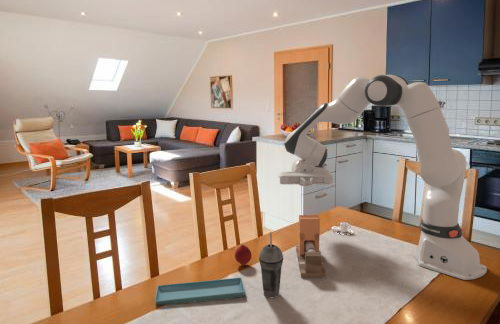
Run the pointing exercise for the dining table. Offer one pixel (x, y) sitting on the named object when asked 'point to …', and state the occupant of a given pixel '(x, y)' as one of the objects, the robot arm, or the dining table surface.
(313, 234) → the orange angular piece
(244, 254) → the onion
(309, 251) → the pipe rig
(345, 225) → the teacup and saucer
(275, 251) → the beverage cup
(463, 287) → the dining table surface
